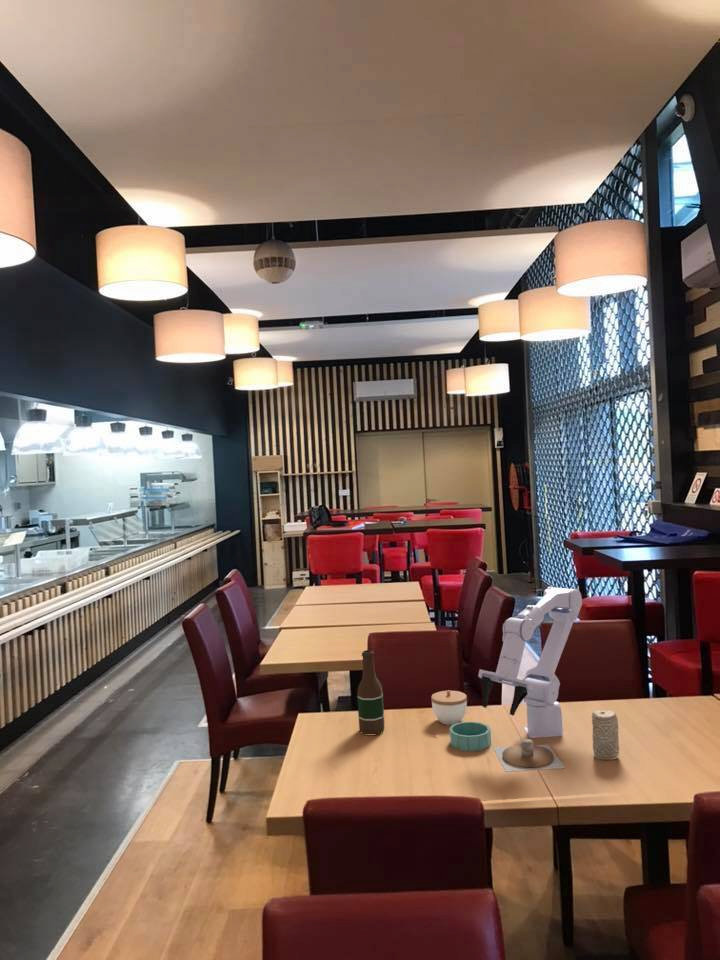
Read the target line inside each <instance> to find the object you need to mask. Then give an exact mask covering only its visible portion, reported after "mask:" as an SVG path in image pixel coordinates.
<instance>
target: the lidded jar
mask: <svg viewBox="0 0 720 960" xmlns="http://www.w3.org/2000/svg"><path fill="white" fill-rule="evenodd" d="M430 699H431V705H432V706H431V707H432V711H433V714H434V716H435V718H436V719H437V720H439V723H441V724H443V725H446V726H452V725H453V724H457V723H460V722H461V721H462V720H463V718H464V717H465V715H466V713H467V703H468V701H467V700H468V698H467V694H465V693H464V692H462V691H459V690H450V689H448V690H442V691H441V690H440V691H437V692H435V693H432V695H431V698H430Z"/></svg>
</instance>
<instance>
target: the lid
mask: <svg viewBox="0 0 720 960" xmlns="http://www.w3.org/2000/svg"><path fill="white" fill-rule="evenodd" d="M535 745H536V744H534V741H533V740H532V739H529V738H528V739H527V738H524V739H521V740H520V744H515V745H512V746H508V747H509V748H507V749H505V750H504V751H503V753H502V755H503V760H504V761H505V762H507V763H508V764H510V765H513V766H516V767H522V768H539V767H544V766H547V765H549V764H551V763H552V762H553V759H554V758H553V753H552V752H551V751H550V750H548V749H546V748H544V747H540V746H535Z"/></svg>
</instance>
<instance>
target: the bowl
mask: <svg viewBox="0 0 720 960" xmlns="http://www.w3.org/2000/svg"><path fill="white" fill-rule="evenodd" d="M448 731H449V743H450V745H451V747H453V748H454V749H456V750H460V751H464V752H477V751H478V752H479V751H481V750H482V751H483V750H485V749H488V748H489V747H490V746H491V744H492V735H491V734H492V733H491V728H490V726H489V725H488V724H486V723H483V722H478V721H460V723H457V724H453V725H450V727H449V730H448Z"/></svg>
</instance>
